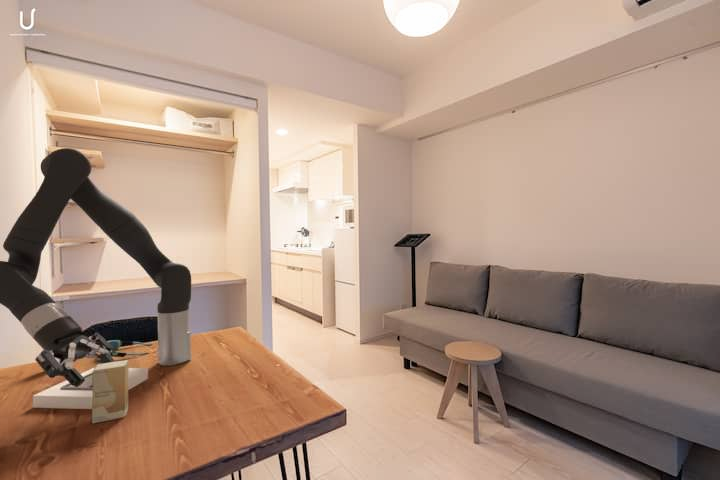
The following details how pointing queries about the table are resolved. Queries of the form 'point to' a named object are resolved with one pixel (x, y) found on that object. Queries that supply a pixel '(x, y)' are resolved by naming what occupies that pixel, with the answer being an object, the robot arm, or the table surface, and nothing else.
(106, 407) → the skincare box
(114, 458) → the table surface
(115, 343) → the sunglasses
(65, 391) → the socket plate
